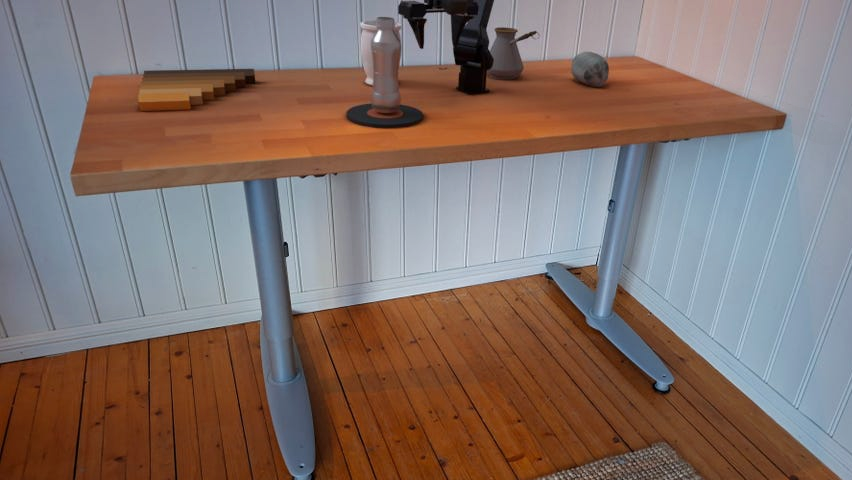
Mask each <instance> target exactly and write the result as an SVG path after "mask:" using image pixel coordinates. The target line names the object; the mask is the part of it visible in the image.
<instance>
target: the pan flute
mask: <svg viewBox="0 0 852 480" xmlns="http://www.w3.org/2000/svg"><path fill="white" fill-rule="evenodd" d="M246 84H247V85H248V84H250V85H251V84H256V75H255V69H254V68H219V69H218V68H214V69H212V68H211V69H164V70H163V69H160V70H155V69H154V70H143V74H142V78H141V81H140V85H139V89H138V93H137V100H138V106H139V111H140V112H150V111H151V112H153V111H155V112H156V111H179V110H181V111H183V110H191V109H192V106H194V105H195V106H198V105H204V101H215V97H217V96H218V97H219V96H220V97H221V96H226V92H236V91H237V90H236V89H237V88H247V85H246Z"/></svg>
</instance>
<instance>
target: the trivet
mask: <svg viewBox="0 0 852 480" xmlns="http://www.w3.org/2000/svg"><path fill="white" fill-rule="evenodd" d="M346 118H347V120H348V121H350V122H352V123H354V124H356V125H359V126H364V127H369V128H378V129H397V128H405V127H412V126H415V125H417V124H419V123H422V121H423V119H424V113H423V112H422V110H420V109H419V108H416V107H414V106H410V105H406V104H402V103H401V104H400V108H399V110H398V111H397V112H395V113H380V112H376V111H374V109H373V108H372V105H371V102H370V103H363V104H359V105H355V106H352V107H350V108H349V109H347V110H346Z"/></svg>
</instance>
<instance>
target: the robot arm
mask: <svg viewBox="0 0 852 480" xmlns="http://www.w3.org/2000/svg"><path fill="white" fill-rule="evenodd" d="M494 3H495V0H423V2H420V1H418V0H401V1H400V2H399V4H398V6H397V14H398V15H400V16H402V18H403V19H405V20H407V22H408V24H409V26H410V28H411V30H412V33H413V34H414V37H415V40H416V43H417V45H418V47H419V49H420V50H423V49H425V25H426V23H427V21H428V19H427V18H425V16H426V15H427V14H436V13H437V14H438V13H446V14H447V15H449V16H450V29H451V31H450V32H451V43H452V54H453V59H454V65H455V66H460V68H459V69H460V71H459V73H458V83H457V84H458V86H456V87H455V89H456V90H458V91H461V92H463V93H466V94H468V95H475V94H482V93H490V89H488V88H487V75H488V73H487V70H490V69H491V68H492V66H493V62H494V59H493V57H492V55H491V53H490V49H489V48H490V47H489V46H490V38H489V35H488V31H487V28H488V26H489V21H490V17H491V13H492V9H493V6H494Z"/></svg>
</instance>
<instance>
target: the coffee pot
mask: <svg viewBox="0 0 852 480" xmlns="http://www.w3.org/2000/svg"><path fill="white" fill-rule="evenodd" d="M494 32H495V35H496V37H495V39H494V41H493V43H492V45H491V47H490V49H489V51H490V53H491V55H492V57H493V59H494V62H493V66H492V68H491V69H490V70H487V75H488V76H489V77H490V78H492V79H496V80H515V79H517V77H518V76H520V75H521V73H522V72H523V70H524V63H523V60H522V57H521V54H520V50H519V46H518V44H517V43H518V42H520V41H524V40H527V39H529V38H530V37H531V38H532V39H534V40H538V39H539V38H540V36H541V35H540V33H539V32H538V31H536V30H533V31H529V32H528V33H525V34H523V35H521V36H519V37H517V38H516V35H517V33H518V32H519V30H518V29H517V28H512V27H505V26H504V27H503V26H501V27H499V26H498V27H495V28H494ZM536 34H537V35H538V37H537V38H535V37H534V36H535V35H536Z"/></svg>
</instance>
